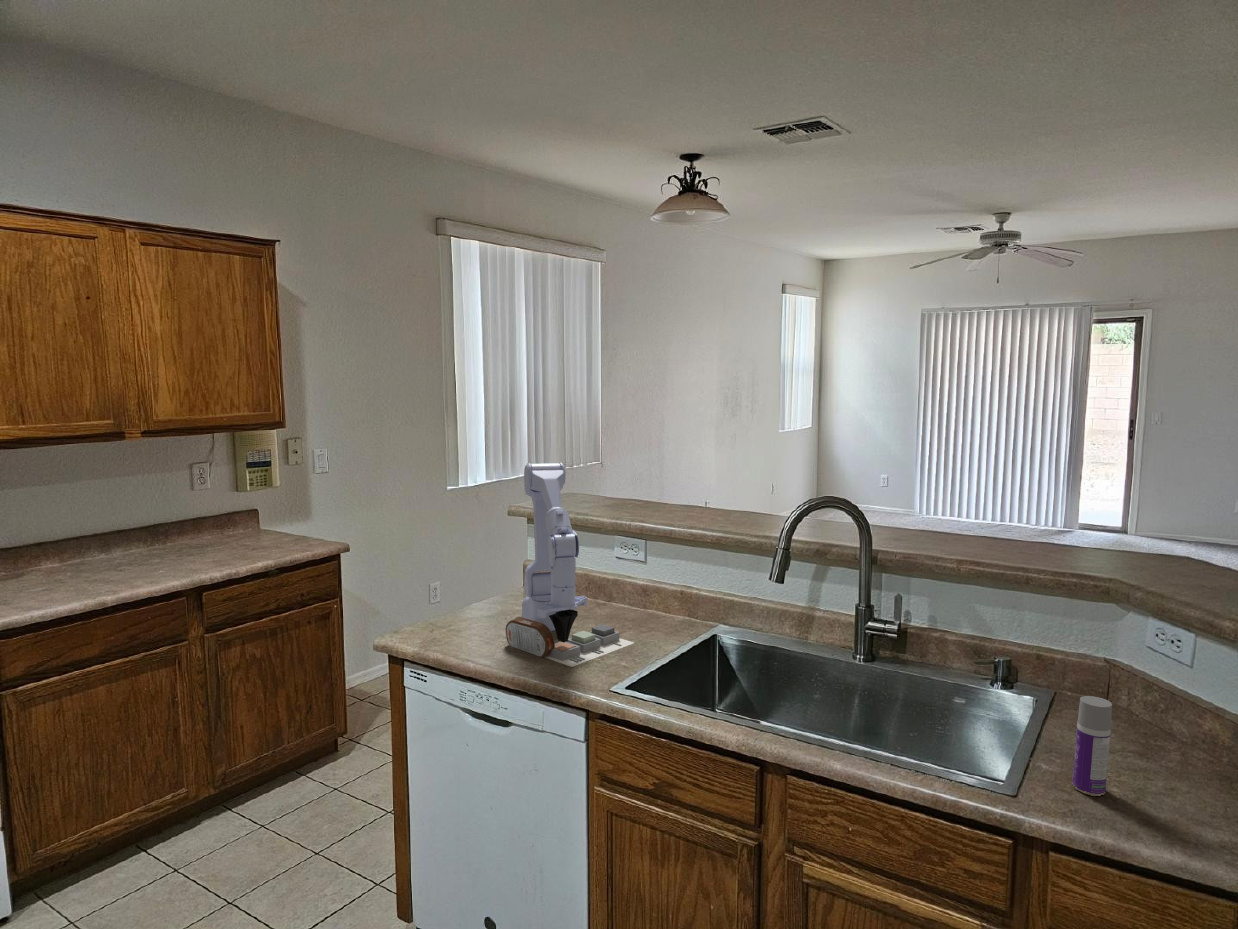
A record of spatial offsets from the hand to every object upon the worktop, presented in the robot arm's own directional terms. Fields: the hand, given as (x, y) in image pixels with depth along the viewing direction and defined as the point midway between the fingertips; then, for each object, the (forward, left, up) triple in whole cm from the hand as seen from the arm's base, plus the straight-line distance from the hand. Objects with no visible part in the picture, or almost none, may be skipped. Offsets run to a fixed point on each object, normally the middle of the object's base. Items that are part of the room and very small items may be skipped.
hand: (562, 641), depth 184 cm
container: (+105, +17, -5) cm, 107 cm away
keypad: (+1, +7, -4) cm, 8 cm away
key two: (0, +7, -2) cm, 7 cm away
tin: (-8, -4, -5) cm, 10 cm away
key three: (0, 0, -3) cm, 3 cm away
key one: (0, +14, -2) cm, 14 cm away
